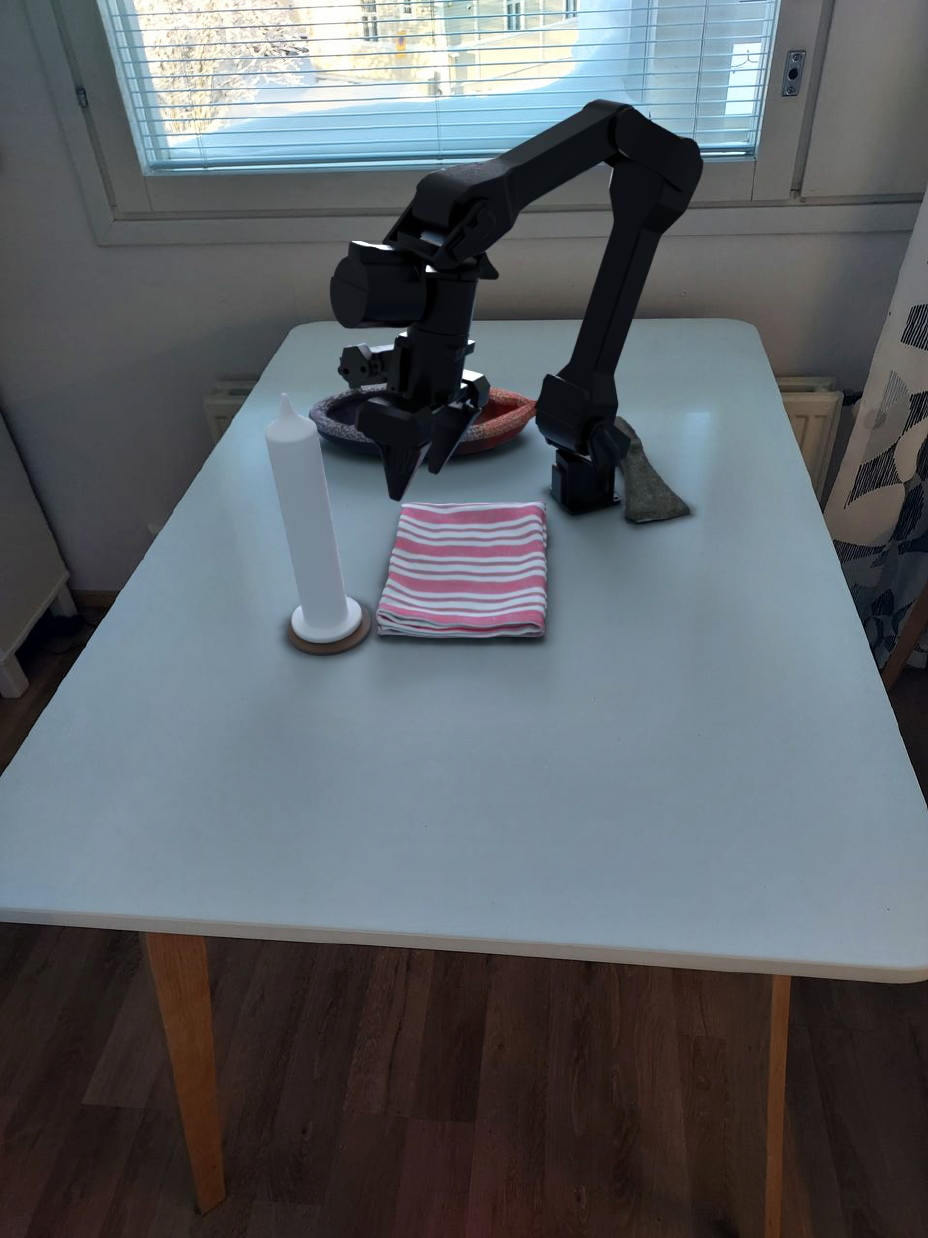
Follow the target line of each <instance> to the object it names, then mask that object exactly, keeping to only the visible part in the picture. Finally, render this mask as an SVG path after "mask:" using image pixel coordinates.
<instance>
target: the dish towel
mask: <svg viewBox="0 0 928 1238" xmlns="http://www.w3.org/2000/svg"><path fill="white" fill-rule="evenodd" d="M400 507H401V513H400V515H399V521H398V523H397V531H396V534H395V535H396V539H395V544H394V547H393V549H392V550H391V556H390V558H389V566H388V577H387V580H386V583H385V586H384V588H383V590H382V593H381V598H380V600H379V602H378V607H377V610H376V617H375V621H376V623H377V634H378V635H380V636H409V637H417V638H430V639H431V638H435V639H451V638H453V639H454V638H479V639H481V638H482V639H483V638H493V637H510V638H511V637H513V638H515V637H519V638H521V637H522V638H539V637H542V636H543V635H544V634H545V633H546V626H545V619H546V616H547V610H548V595H547V580H548V579H547V578H548V577H547V576H548V575H547V574H548V566H547V564H548V563H547V559H546V553H547V552H546V550H547V540H548V535H547V522H546V521H547V519H546V518H547V514H548V510H547V502H546V501H543V500H540V501H539V500H537V501H530V502H499V501H498V502H497V501H496V502H468V503H467V502H464V503H427V502H417V501H416V502H404V503H402V504H401V506H400Z"/></svg>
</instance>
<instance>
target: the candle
mask: <svg viewBox="0 0 928 1238" xmlns="http://www.w3.org/2000/svg"><path fill="white" fill-rule="evenodd" d="M279 406H280V407H279V413H278V416H277V417H276V418H275V419H274V420H273V421H271V422H270V423H269V424H268V425H267V427H266V428H265V430H264V438H265V442H266V447H267V452H268V457H269V462H270V466H271V471H272V475H273V480H274V484H275V490H276V495H277V500H278V505H279V508H280V514H281V516H282V517H281V518H282V522H283V527H284V532H285V536H286V542H287V546H288V550H289V551H288V552H289V555H290V561H291V565H292V570H293V574H294V579H295V584H296V589H297V593H298V598H299V602H300V604H299V605H298V606H297V607H296V608H295V610H294V611H293V612H292V615H291V619H292V620H291V619H290V621H291V622H292V627H293V630H294V632H295V633H296V634H297V635H298V636H299V637H300V638H302V639H304V640H306V641H309V642H313V643H330V642H335V641H338V640H341V639H343V638H345V637H347V636H349V635H350V634H352V633H353V632H354V631H355V630H356V629H357V628H358V627H359V625H360V623H361V620H362V612H361V608H360V606H359V604H360V603H359V602H357V601H356V600H354V598H351V597H350V596H348V595H347V594H346V587H345V583H344V578H343V577H344V576H343V571H342V566H341V560H340V555H339V548H338V543H337V537H336V531H335V525H334V519H333V514H332V507H331V501H330V495H329V490H328V484H327V479H326V478H327V477H326V472H325V467H324V466H325V465H324V461H323V460H324V459H323V455H322V449H321V443H320V436H319V433H318V431H317V426H316V424H315V422H313V421H312V420H311V419H309V417H306V416H303V415H301V414H299V413H298V412H297V411H296V410H295V408H294V406H293V404H292V402H291V399H290V398H289V396H288V394H287V393H286V392H282V393H281V394H280V405H279ZM358 603H359V604H358Z"/></svg>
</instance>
